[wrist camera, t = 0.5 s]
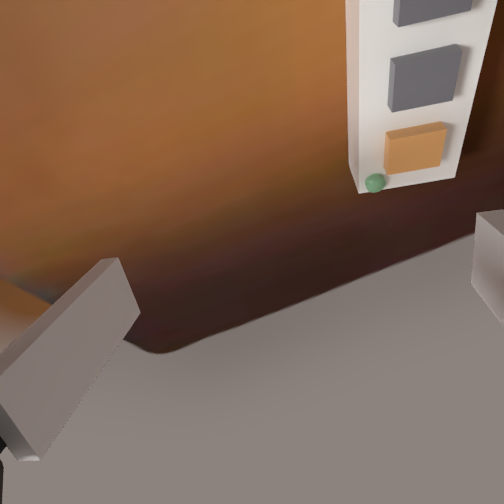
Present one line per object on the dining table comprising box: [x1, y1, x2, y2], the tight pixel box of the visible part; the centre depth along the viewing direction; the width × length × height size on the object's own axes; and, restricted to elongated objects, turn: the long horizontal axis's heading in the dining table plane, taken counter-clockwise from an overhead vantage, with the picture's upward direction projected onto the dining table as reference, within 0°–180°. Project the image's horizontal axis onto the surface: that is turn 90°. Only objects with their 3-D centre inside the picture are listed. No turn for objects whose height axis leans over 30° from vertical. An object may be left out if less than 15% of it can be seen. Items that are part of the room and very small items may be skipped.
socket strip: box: [345, 0, 497, 193], centre depth 18 cm, size 18×6×4 cm, turn 12°
